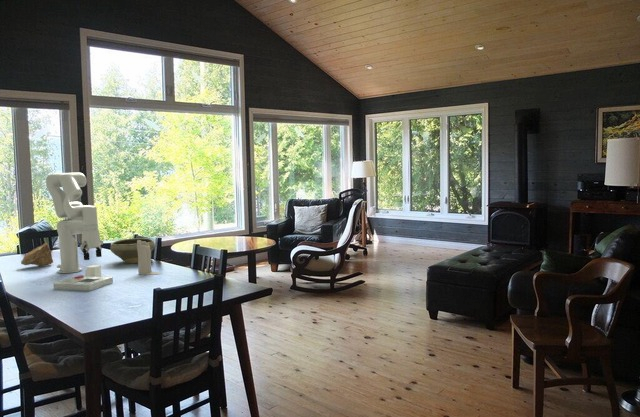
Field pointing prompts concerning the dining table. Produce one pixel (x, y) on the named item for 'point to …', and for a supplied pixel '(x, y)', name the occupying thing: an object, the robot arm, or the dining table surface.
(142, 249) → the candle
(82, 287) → the socket plate
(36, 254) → the stone
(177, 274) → the dining table surface
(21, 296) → the dining table surface
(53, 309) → the dining table surface
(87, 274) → the plug
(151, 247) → the bowl
